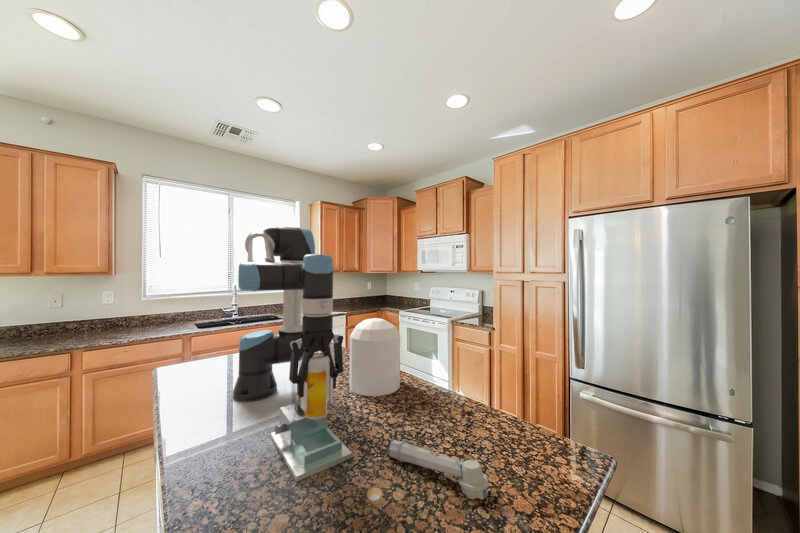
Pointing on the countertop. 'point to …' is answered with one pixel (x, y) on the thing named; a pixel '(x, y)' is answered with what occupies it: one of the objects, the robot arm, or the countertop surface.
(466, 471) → the toothbrush head
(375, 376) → the container
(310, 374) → the soda can
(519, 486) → the countertop surface
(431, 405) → the countertop surface
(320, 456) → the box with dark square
